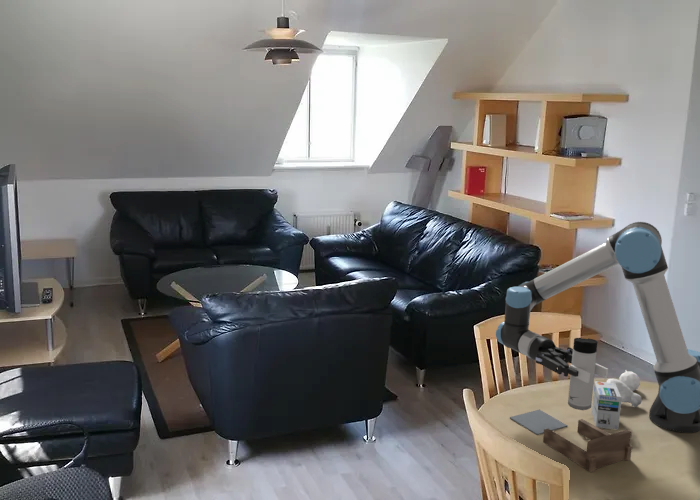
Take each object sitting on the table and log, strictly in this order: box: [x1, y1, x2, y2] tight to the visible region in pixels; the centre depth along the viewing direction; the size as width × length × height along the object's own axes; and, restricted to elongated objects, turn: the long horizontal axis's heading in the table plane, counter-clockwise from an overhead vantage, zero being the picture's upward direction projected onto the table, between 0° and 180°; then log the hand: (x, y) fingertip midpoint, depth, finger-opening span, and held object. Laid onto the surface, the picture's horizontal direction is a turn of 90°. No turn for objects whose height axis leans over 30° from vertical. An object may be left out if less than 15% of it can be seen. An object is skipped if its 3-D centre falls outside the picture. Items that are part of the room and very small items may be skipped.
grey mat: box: [509, 409, 568, 436], centre depth 213 cm, size 12×12×1 cm
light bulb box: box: [591, 380, 622, 431], centre depth 213 cm, size 11×7×11 cm, turn 169°
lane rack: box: [542, 418, 633, 473], centre depth 195 cm, size 18×15×8 cm
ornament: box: [618, 369, 641, 392], centre depth 236 cm, size 6×7×7 cm
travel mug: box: [567, 337, 598, 411], centre depth 194 cm, size 6×7×20 cm
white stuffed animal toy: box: [605, 378, 643, 409], centre depth 225 cm, size 6×8×12 cm
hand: (597, 375), depth 189 cm, fingers closed on travel mug, 6 cm apart
